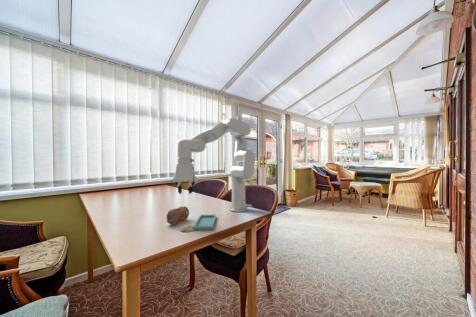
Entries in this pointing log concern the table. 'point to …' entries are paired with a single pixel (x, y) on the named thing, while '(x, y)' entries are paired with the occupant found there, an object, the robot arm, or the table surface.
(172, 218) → the tin
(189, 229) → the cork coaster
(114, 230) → the table surface
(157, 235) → the table surface
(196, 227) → the tray
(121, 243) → the table surface
